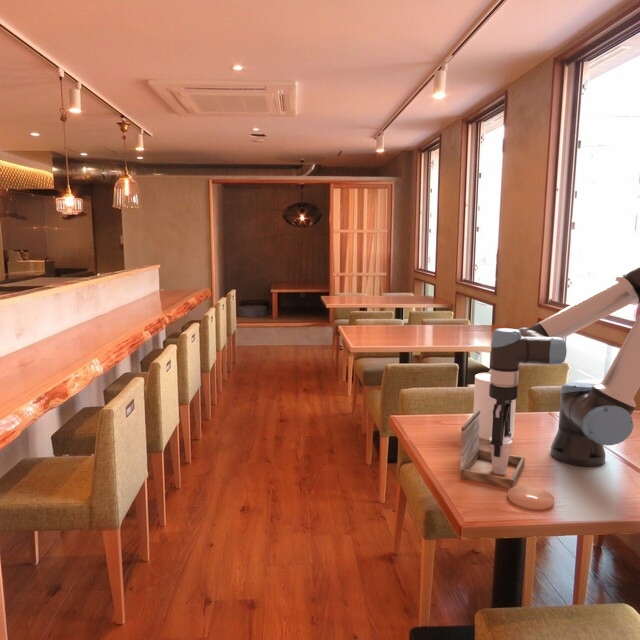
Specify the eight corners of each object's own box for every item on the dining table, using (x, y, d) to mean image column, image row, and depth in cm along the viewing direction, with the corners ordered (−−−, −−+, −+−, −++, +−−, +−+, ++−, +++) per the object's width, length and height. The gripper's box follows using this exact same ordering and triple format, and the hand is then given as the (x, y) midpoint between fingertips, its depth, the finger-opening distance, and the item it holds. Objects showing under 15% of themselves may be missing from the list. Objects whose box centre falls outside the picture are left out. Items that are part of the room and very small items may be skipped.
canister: (508, 443, 176) (511, 384, 173) (467, 436, 183) (470, 378, 180) (517, 431, 187) (520, 375, 185) (478, 424, 194) (481, 370, 192)
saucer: (556, 496, 139) (556, 491, 139) (550, 514, 130) (551, 509, 130) (512, 486, 145) (512, 482, 145) (503, 503, 135) (504, 499, 135)
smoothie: (512, 477, 150) (515, 429, 148) (488, 475, 152) (490, 428, 150) (509, 468, 157) (511, 422, 155) (486, 466, 158) (488, 420, 156)
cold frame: (524, 465, 159) (527, 417, 157) (512, 489, 143) (515, 436, 141) (471, 454, 167) (473, 409, 164) (454, 476, 151) (456, 426, 149)
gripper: (497, 375, 161) (493, 448, 164) (481, 390, 144) (478, 471, 147) (523, 378, 157) (519, 453, 160) (510, 393, 140) (506, 477, 143)
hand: (499, 462), depth 154 cm, fingers closed on smoothie, 6 cm apart
